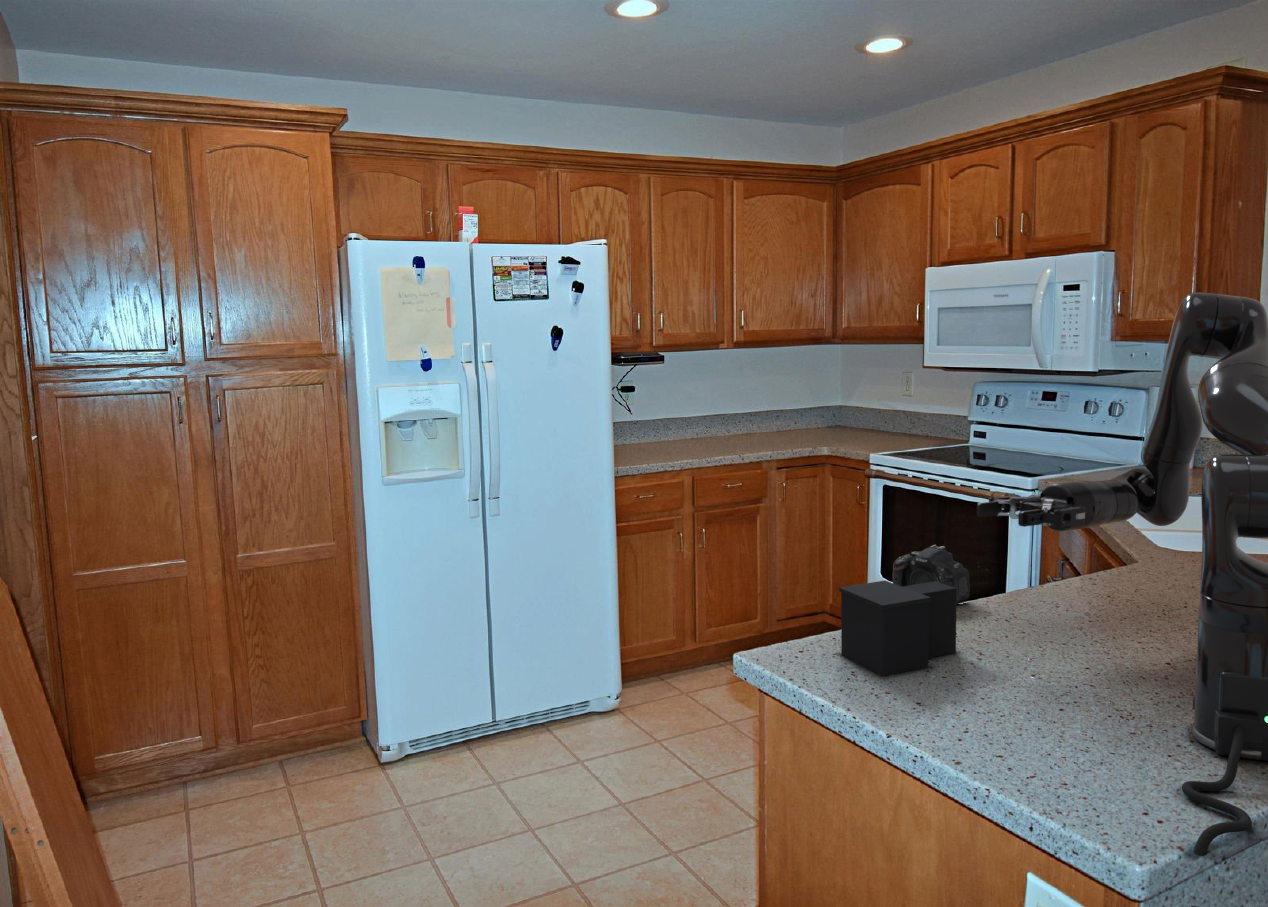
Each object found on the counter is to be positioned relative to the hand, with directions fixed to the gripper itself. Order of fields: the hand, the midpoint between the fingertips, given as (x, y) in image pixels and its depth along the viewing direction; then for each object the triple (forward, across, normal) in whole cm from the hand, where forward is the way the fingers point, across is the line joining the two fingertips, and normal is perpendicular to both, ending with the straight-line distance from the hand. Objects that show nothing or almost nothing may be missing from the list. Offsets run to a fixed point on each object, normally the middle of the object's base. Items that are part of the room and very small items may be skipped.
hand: (998, 514), depth 135 cm
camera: (-6, -22, +20) cm, 31 cm away
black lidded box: (+20, -1, +20) cm, 29 cm away
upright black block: (+12, -1, +20) cm, 24 cm away
